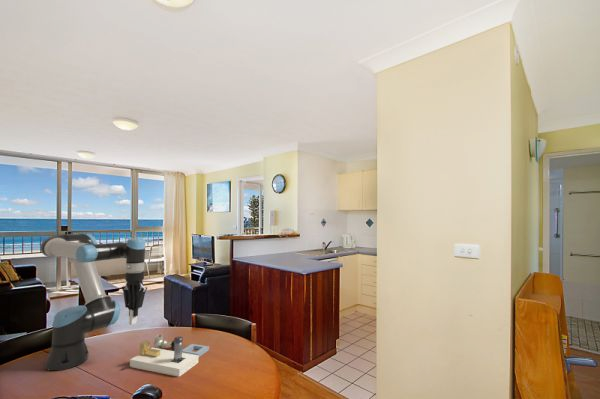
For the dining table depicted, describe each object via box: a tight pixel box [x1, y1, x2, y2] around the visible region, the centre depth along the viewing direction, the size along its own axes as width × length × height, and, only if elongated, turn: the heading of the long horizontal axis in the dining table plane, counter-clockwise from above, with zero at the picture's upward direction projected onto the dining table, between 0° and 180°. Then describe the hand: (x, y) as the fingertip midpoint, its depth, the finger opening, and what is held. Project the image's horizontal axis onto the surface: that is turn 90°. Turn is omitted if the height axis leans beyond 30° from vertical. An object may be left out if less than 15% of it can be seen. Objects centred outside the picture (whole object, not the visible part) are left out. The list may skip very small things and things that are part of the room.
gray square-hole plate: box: [182, 343, 210, 358], centre depth 135 cm, size 10×8×2 cm
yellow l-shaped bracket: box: [139, 340, 161, 357], centre depth 125 cm, size 9×3×5 cm, turn 73°
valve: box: [153, 334, 177, 351], centre depth 139 cm, size 7×7×12 cm
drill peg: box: [173, 336, 184, 363], centre depth 121 cm, size 3×3×12 cm
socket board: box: [129, 347, 200, 378], centre depth 123 cm, size 26×12×4 cm, turn 73°
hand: (133, 323), depth 129 cm, fingers closed
